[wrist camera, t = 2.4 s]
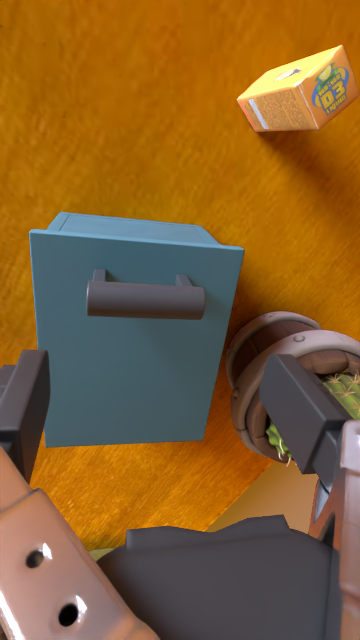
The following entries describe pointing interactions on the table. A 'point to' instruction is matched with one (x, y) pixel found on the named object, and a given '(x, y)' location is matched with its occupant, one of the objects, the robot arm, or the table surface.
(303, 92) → the supplement box
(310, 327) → the flowerpot
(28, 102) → the table surface
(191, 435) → the lid
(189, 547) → the robot arm
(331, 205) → the table surface
